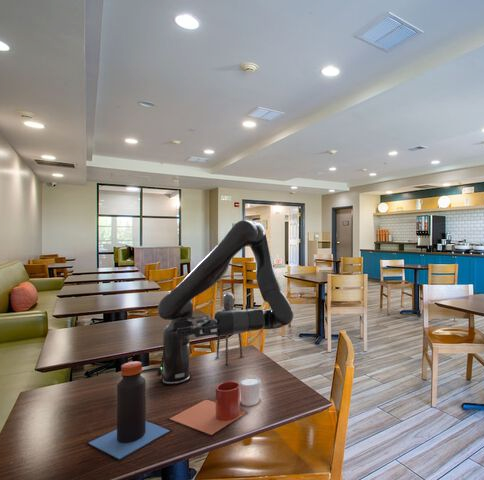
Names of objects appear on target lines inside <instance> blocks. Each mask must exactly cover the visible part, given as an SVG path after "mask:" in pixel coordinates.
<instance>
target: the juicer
mask: <svg viewBox="0 0 484 480" xmlns="http://www.w3.org/2000/svg"><path fill="white" fill-rule="evenodd" d="M222 305H223V309H222V310H221V311H230V310H237V309H236V308H235V296H234V294H233V293H231V292H227V293H225V294H224V295H223V297H222ZM237 335H238V341H239V356H240V358H243V344H242V333H239V334H237ZM220 340H221V336H217V342H216V345H217V346H216V359H219V355H220V353H219V352H220ZM228 353H229V335H225V366H228V363H229V362H228V360H229V359H228V358H229V357H228V355H229V354H228Z"/></svg>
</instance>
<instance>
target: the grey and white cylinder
mask: <svg viewBox="0 0 484 480" xmlns="http://www.w3.org/2000/svg"><path fill="white" fill-rule="evenodd" d="M261 383H262V381H261V379H260V378H259V377H247V378H243V379H242V380H240V381H239V384H240V404H241V405H243V406H248V407H249V406H254V405H256V404H258V403H259V401H260V392H261Z"/></svg>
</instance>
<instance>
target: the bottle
mask: <svg viewBox="0 0 484 480" xmlns="http://www.w3.org/2000/svg"><path fill="white" fill-rule="evenodd" d="M142 370H143V363H142V361H137V360H136V361H129V362H126V363H123V364H121V366H120V374H121V375H120V376H121V380H120V381H119V382H118V383H117V385H116V429H117V441H118V442H121V443H129V442H133V441H136V440H138V439H140V438H141V437H142V436H144V434H145V432H146V421H147V419H146V416H147V412H146V408H147V407H146V403H147V401H146V399H147V395H146V394H147V381H146V378H145V377H143V376H142V373H143V372H142Z"/></svg>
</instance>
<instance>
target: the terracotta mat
mask: <svg viewBox="0 0 484 480" xmlns="http://www.w3.org/2000/svg"><path fill="white" fill-rule="evenodd" d="M246 413H247V412H246V411H244V410H241V409H240V413H239V416H238V417H236V418H235V419H232V420H228V421H220V420H218V419H216V401H213V400H209V399H204V400H202V401H199V402H198V403H196V404H195V405H192V406H190V407H189V408H187V409H185V410H183V411H181V412H179V413H177V414H175V415H173V416H171V417H170V418H168V419H169V420H171V421H172V422H173V421H174V422H176V423H178V424H181V425H184V426H187V427H189V428H192V429H195V430H196V431H200V432H203V433H205V434H208V435H210V436H213V435H214V434H215V433H217V432H219V431H221V429H223V428H225V427H226V426H228V425H229V424H231V423H232V422H234V421H236V420H237V419H239V418H240V417H242V416H243V415H245V414H246Z"/></svg>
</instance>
